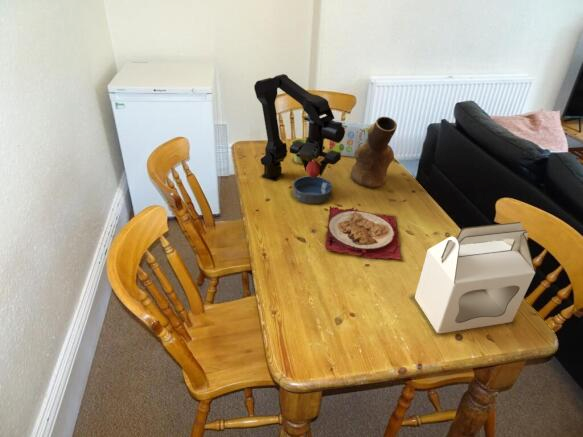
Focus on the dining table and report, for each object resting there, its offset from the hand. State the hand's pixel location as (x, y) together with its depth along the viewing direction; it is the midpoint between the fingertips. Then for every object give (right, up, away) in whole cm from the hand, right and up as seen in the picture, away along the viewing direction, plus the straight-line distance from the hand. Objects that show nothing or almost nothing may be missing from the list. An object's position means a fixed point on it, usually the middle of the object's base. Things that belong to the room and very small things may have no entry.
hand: (313, 173), depth 156 cm
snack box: (+20, +12, +37) cm, 43 cm away
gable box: (+38, -42, -44) cm, 72 cm away
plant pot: (-4, +8, +29) cm, 31 cm away
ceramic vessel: (+24, -3, +14) cm, 28 cm away
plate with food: (+16, -23, -16) cm, 32 cm away
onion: (0, -2, +1) cm, 2 cm away
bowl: (0, -8, +5) cm, 9 cm away
